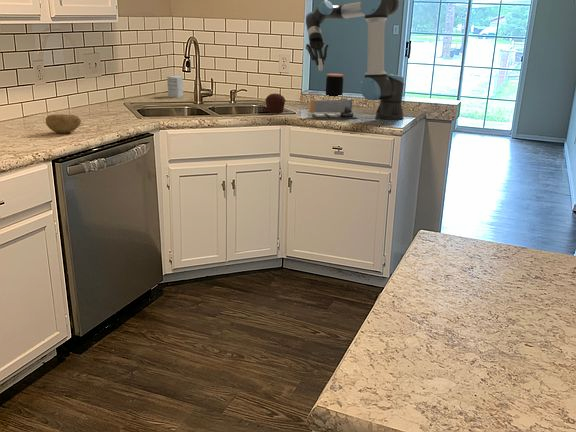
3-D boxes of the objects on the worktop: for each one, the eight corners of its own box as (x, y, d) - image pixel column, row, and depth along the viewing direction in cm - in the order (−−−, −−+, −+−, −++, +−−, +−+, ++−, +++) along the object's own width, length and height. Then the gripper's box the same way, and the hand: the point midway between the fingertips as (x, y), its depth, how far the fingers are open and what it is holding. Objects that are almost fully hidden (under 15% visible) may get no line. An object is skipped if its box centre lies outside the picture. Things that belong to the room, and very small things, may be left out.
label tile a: (335, 115, 318) (335, 113, 317) (340, 119, 309) (340, 116, 308) (324, 115, 317) (324, 113, 316) (329, 118, 307) (329, 116, 307)
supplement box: (173, 95, 374) (172, 75, 370) (183, 96, 372) (182, 76, 368) (167, 96, 367) (166, 76, 363) (177, 97, 365) (177, 77, 361)
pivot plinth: (352, 116, 319) (352, 111, 318) (357, 118, 311) (357, 114, 310) (336, 116, 317) (336, 111, 317) (341, 118, 309) (341, 113, 308)
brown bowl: (82, 134, 246) (81, 115, 244) (47, 135, 241) (45, 116, 238) (80, 130, 255) (79, 111, 252) (46, 131, 249) (44, 112, 247)
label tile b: (323, 115, 316) (323, 113, 316) (327, 118, 307) (327, 116, 307) (312, 115, 315) (312, 113, 315) (316, 118, 306) (316, 116, 306)
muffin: (289, 112, 324) (290, 94, 321) (275, 114, 316) (276, 95, 313) (274, 109, 331) (275, 92, 328) (260, 111, 324) (260, 93, 321)
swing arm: (350, 111, 316) (351, 98, 314) (352, 113, 311) (353, 99, 309) (308, 111, 311) (309, 97, 309) (310, 112, 307) (311, 99, 304)
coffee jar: (341, 102, 370) (343, 74, 364) (341, 105, 360) (343, 75, 354) (325, 102, 371) (326, 73, 365) (324, 104, 361) (326, 74, 355)
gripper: (325, 41, 331) (331, 74, 321) (302, 40, 329) (307, 73, 318) (328, 32, 325) (334, 65, 314) (304, 31, 322) (310, 64, 312)
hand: (321, 69), depth 316 cm, fingers closed
